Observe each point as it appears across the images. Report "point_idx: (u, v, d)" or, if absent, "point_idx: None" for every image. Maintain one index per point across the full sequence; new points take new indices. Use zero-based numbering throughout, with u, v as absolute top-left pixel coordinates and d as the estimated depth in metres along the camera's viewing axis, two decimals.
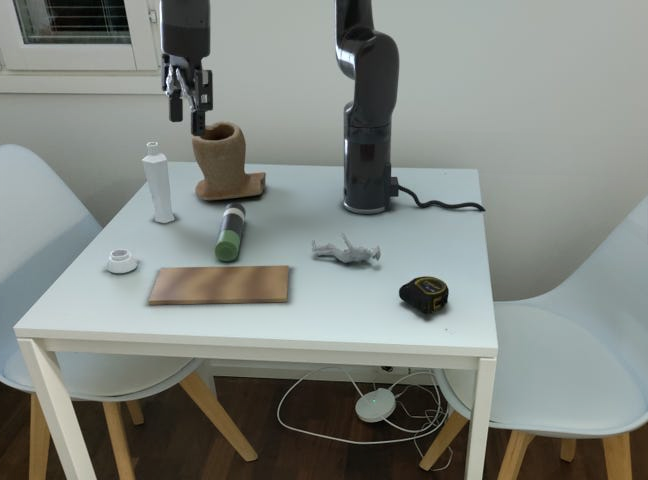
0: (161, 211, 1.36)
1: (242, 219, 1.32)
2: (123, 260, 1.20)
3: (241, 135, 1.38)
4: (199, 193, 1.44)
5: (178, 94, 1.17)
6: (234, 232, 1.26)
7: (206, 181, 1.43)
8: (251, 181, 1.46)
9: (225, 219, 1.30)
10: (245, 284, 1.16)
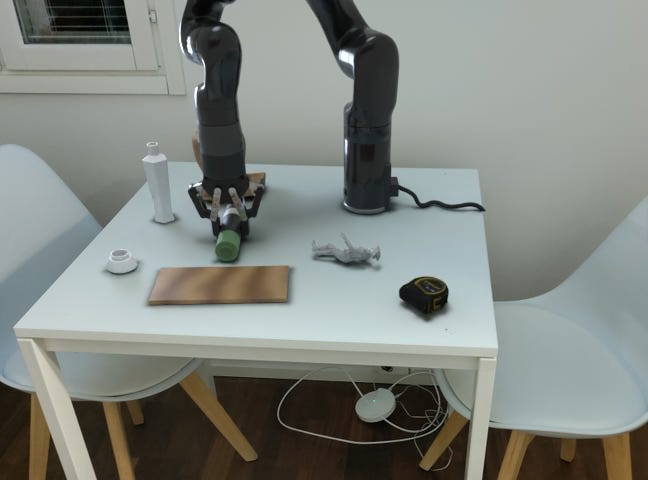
0: (161, 211, 1.36)
1: None
2: (123, 260, 1.20)
3: None
4: None
5: None
6: (234, 232, 1.26)
7: None
8: (251, 181, 1.46)
9: (225, 219, 1.30)
10: (245, 284, 1.16)
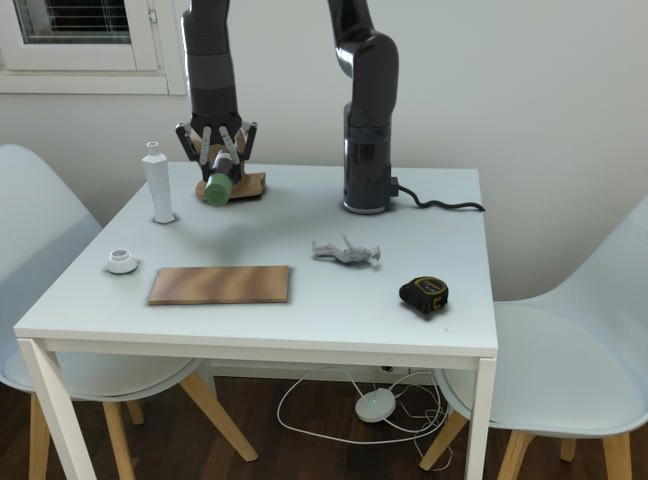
0: (161, 211, 1.36)
1: None
2: (123, 260, 1.20)
3: (241, 135, 1.38)
4: (199, 193, 1.44)
5: (208, 157, 1.20)
6: (226, 176, 1.17)
7: None
8: (251, 181, 1.46)
9: (216, 163, 1.21)
10: (245, 284, 1.16)
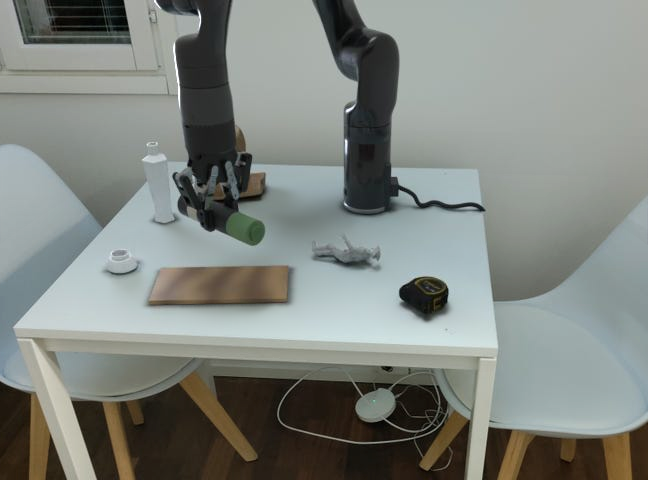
0: (161, 211, 1.36)
1: None
2: (123, 260, 1.20)
3: (241, 135, 1.38)
4: None
5: None
6: None
7: None
8: (251, 181, 1.46)
9: None
10: (245, 284, 1.16)
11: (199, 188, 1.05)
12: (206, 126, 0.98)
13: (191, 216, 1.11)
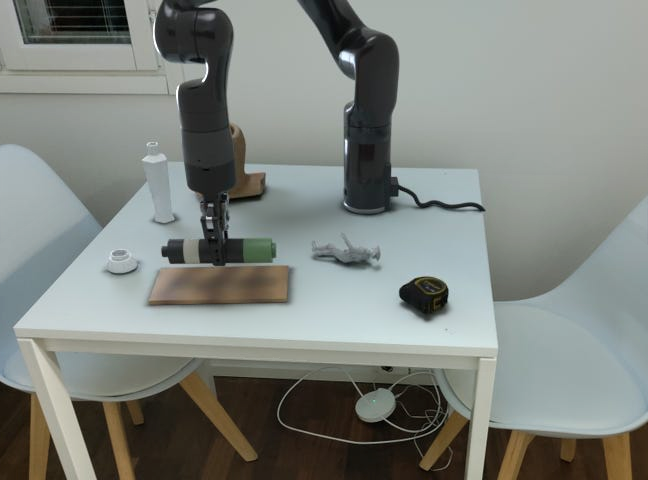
0: (161, 211, 1.36)
1: None
2: (123, 260, 1.20)
3: (241, 135, 1.38)
4: (199, 193, 1.44)
5: None
6: None
7: None
8: (251, 181, 1.46)
9: None
10: (245, 284, 1.16)
11: None
12: (226, 164, 1.03)
13: (189, 260, 1.12)
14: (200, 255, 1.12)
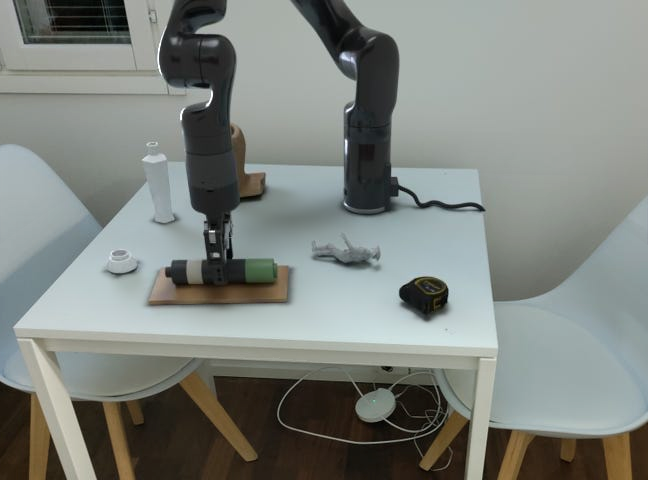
0: (161, 211, 1.36)
1: None
2: (123, 260, 1.20)
3: (241, 135, 1.38)
4: None
5: None
6: None
7: None
8: (251, 181, 1.46)
9: None
10: (245, 284, 1.16)
11: None
12: (229, 185, 1.04)
13: (192, 281, 1.14)
14: (203, 276, 1.14)
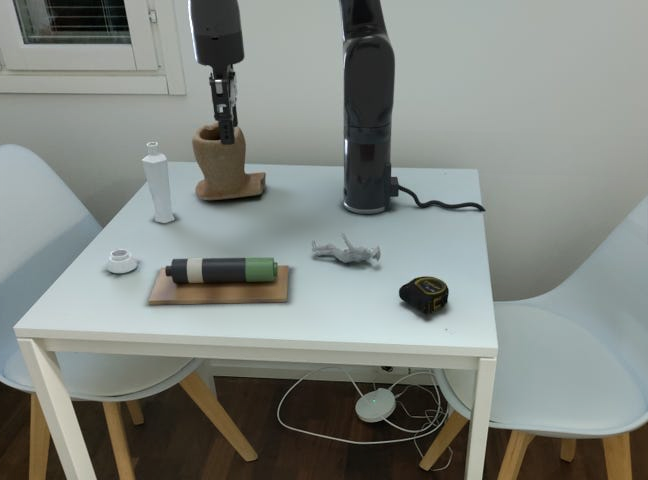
0: (161, 211, 1.36)
1: None
2: (123, 260, 1.20)
3: (241, 135, 1.38)
4: (199, 193, 1.44)
5: None
6: None
7: (206, 181, 1.43)
8: (251, 181, 1.46)
9: (214, 262, 1.14)
10: (245, 284, 1.16)
11: None
12: (234, 34, 1.04)
13: (192, 278, 1.14)
14: (203, 273, 1.14)
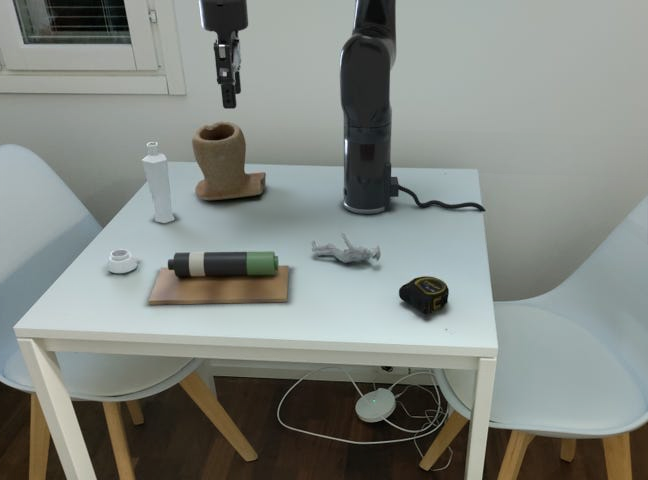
0: (161, 211, 1.36)
1: None
2: (123, 260, 1.20)
3: (241, 135, 1.38)
4: (199, 193, 1.44)
5: None
6: None
7: (206, 181, 1.43)
8: (251, 181, 1.46)
9: None
10: (245, 284, 1.16)
11: None
12: (238, 1, 1.10)
13: (193, 259, 1.16)
14: (205, 254, 1.16)
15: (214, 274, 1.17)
